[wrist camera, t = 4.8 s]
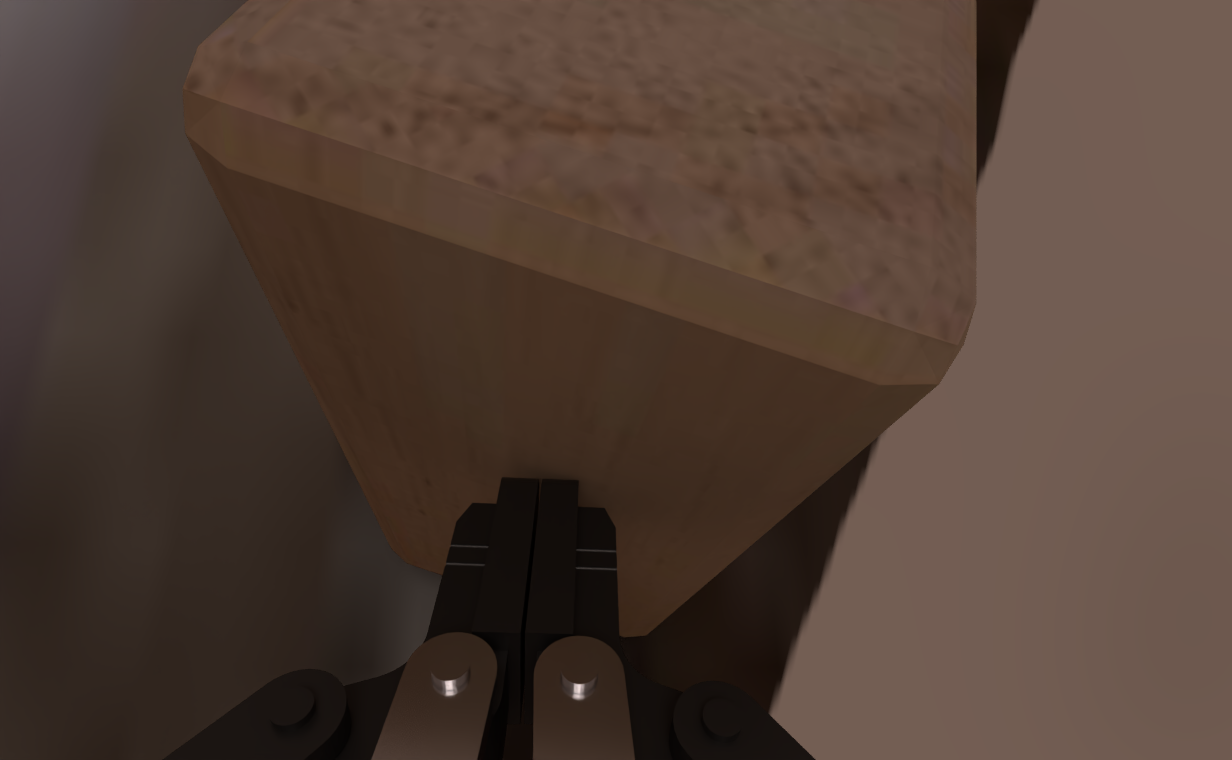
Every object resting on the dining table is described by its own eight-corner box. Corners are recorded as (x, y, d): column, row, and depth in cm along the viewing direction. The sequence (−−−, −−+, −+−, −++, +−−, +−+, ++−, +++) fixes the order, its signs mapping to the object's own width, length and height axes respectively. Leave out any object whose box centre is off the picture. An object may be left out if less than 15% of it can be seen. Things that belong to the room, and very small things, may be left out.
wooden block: (488, 344, 29) (475, -248, 12) (704, 417, 29) (1002, -79, 12) (383, 561, 24) (103, 65, 7) (646, 650, 24) (1020, 369, 7)
